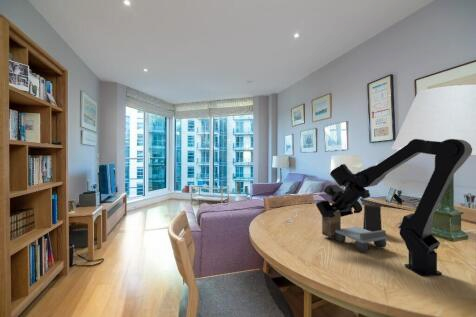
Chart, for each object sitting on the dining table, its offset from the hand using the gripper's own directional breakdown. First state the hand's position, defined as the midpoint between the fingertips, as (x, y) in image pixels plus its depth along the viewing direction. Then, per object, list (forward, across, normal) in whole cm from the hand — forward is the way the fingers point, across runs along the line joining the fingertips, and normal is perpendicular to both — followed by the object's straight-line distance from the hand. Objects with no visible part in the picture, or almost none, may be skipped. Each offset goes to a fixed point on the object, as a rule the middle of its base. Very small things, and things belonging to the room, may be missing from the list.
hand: (328, 218), depth 102 cm
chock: (+4, 0, +6) cm, 7 cm away
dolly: (-2, -4, +13) cm, 14 cm away
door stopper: (+4, -21, +8) cm, 23 cm away
